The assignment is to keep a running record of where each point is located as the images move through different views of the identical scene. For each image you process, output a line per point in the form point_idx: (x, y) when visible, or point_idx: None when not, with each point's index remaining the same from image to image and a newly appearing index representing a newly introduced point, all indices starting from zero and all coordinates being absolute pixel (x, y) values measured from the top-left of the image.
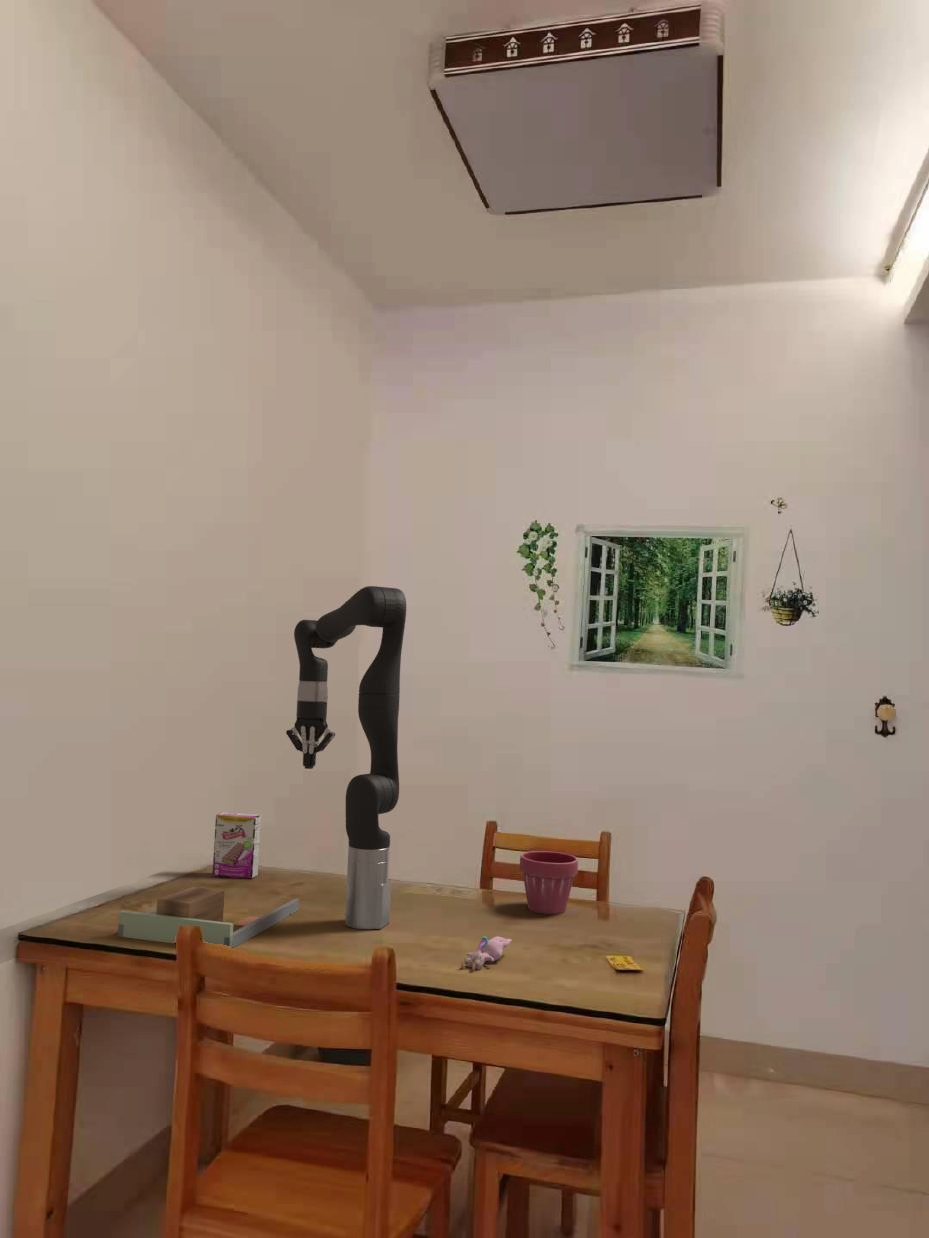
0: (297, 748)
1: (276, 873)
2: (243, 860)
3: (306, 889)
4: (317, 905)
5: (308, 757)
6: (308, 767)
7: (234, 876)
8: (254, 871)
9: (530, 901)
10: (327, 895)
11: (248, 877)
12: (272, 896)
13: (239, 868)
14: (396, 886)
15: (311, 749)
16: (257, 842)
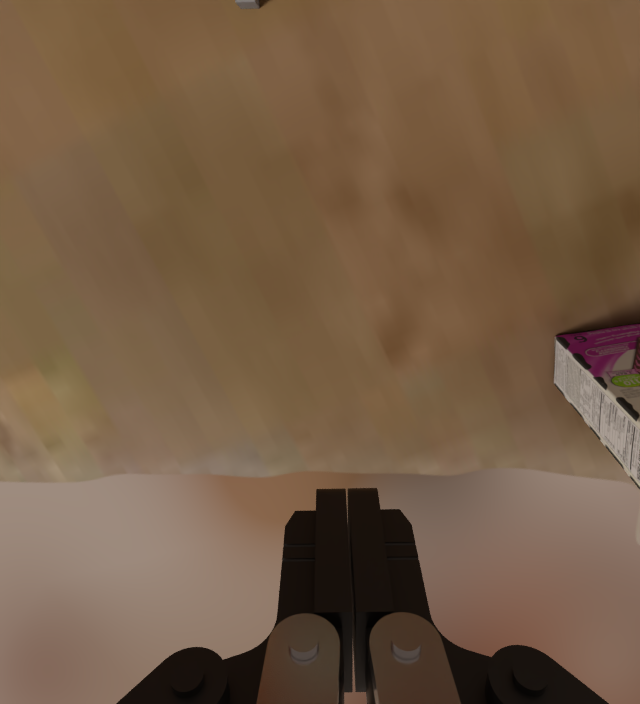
0: (538, 666)
1: (507, 426)
2: (613, 352)
3: (343, 288)
4: (216, 106)
5: (341, 574)
6: (333, 491)
7: (615, 327)
8: (560, 359)
9: None
10: (249, 245)
11: (567, 334)
12: (406, 156)
13: (612, 339)
14: (123, 423)
15: (296, 672)
16: (601, 418)
